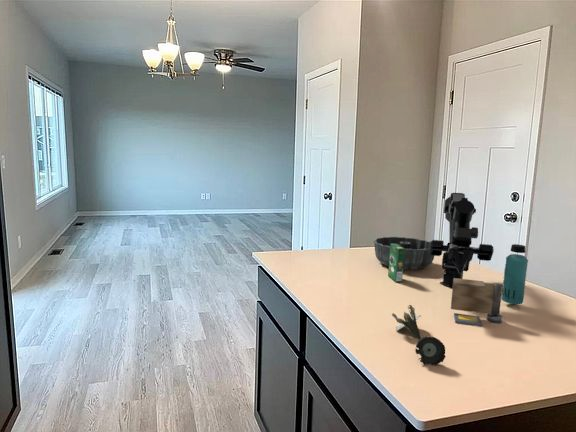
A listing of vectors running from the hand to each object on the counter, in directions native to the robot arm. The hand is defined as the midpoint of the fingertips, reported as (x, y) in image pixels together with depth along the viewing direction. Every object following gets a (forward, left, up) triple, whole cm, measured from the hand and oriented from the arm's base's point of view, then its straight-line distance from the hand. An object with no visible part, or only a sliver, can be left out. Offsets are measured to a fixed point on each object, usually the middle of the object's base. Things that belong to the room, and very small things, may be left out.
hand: (460, 272), depth 136 cm
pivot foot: (-1, +13, -11) cm, 17 cm away
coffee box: (-1, -30, -11) cm, 33 cm away
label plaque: (+7, +9, -11) cm, 16 cm away
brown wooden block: (+5, +10, -9) cm, 14 cm away
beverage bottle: (-17, +7, -11) cm, 22 cm away
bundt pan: (-19, -45, -11) cm, 51 cm away
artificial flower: (+32, +14, -11) cm, 36 cm away
